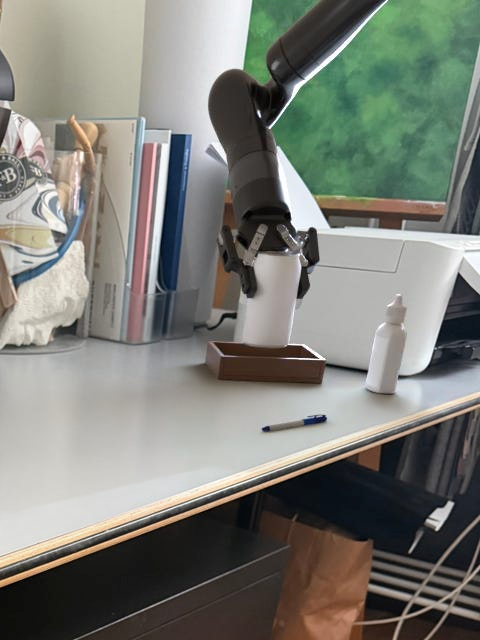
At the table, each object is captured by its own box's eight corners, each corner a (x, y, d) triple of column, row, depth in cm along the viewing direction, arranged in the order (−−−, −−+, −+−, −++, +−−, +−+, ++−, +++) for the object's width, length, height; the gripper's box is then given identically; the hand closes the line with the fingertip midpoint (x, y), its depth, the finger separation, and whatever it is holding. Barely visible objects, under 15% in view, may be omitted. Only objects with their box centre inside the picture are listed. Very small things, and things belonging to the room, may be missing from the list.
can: (292, 343, 133) (307, 252, 128) (284, 350, 128) (299, 256, 122) (246, 338, 135) (259, 249, 130) (237, 345, 130) (249, 253, 125)
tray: (301, 366, 138) (304, 344, 137) (322, 383, 128) (326, 360, 126) (205, 362, 139) (207, 341, 137) (217, 379, 128) (220, 356, 127)
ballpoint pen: (321, 420, 109) (322, 412, 108) (327, 422, 108) (329, 413, 108) (260, 432, 103) (261, 423, 103) (266, 434, 103) (268, 425, 102)
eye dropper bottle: (357, 391, 124) (376, 295, 118) (367, 384, 128) (386, 291, 122) (391, 395, 122) (412, 298, 116) (401, 388, 126) (421, 294, 120)
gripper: (218, 173, 128) (236, 275, 123) (318, 176, 129) (339, 277, 124) (201, 214, 135) (217, 312, 130) (296, 216, 136) (315, 313, 131)
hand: (277, 294), depth 127 cm, fingers closed on can, 6 cm apart
